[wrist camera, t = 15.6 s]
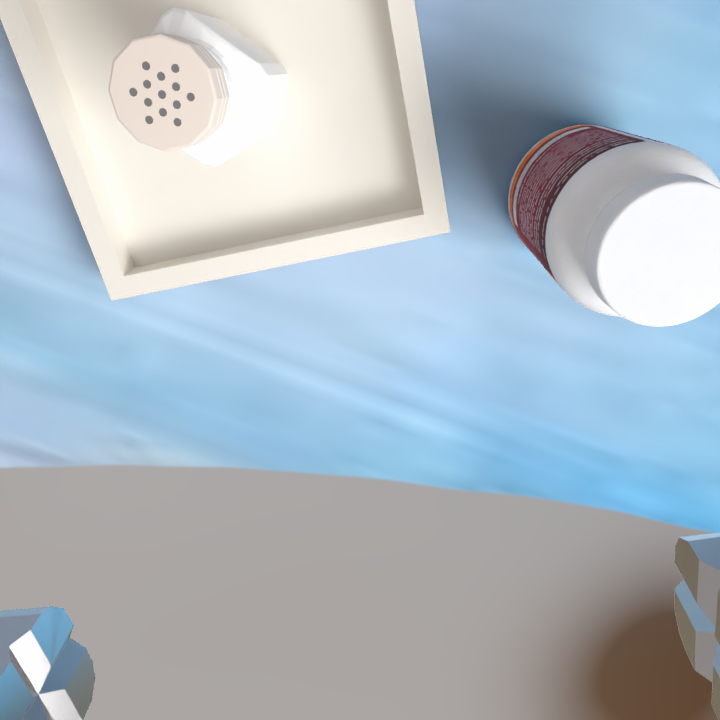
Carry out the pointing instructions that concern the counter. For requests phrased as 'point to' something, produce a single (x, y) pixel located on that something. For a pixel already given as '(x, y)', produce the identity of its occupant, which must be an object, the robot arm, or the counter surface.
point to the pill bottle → (621, 223)
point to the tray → (257, 162)
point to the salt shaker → (195, 87)
